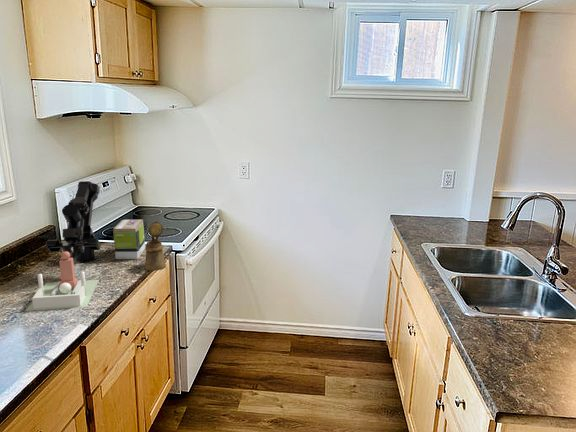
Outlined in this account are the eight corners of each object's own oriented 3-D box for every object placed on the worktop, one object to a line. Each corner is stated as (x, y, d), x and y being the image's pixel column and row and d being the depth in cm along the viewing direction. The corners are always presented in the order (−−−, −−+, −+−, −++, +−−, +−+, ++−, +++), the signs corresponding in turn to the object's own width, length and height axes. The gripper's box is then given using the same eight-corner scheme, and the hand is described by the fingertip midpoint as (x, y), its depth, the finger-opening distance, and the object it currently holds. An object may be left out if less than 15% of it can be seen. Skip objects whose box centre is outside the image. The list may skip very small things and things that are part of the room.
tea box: (124, 248, 209) (122, 218, 205) (145, 248, 210) (144, 218, 206) (114, 259, 195) (112, 227, 191) (138, 259, 196) (136, 227, 192)
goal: (41, 297, 156) (38, 273, 153) (86, 294, 159) (84, 271, 157) (32, 309, 147) (29, 284, 145) (81, 305, 150) (79, 281, 148)
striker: (62, 285, 165) (59, 250, 161) (77, 284, 166) (73, 249, 162) (60, 290, 161) (56, 254, 158) (74, 289, 162) (71, 253, 159)
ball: (67, 289, 162) (66, 279, 161) (74, 292, 160) (73, 282, 159) (57, 293, 159) (56, 283, 158) (64, 296, 157) (63, 286, 156)
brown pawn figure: (168, 259, 197) (167, 221, 192) (164, 270, 184) (162, 229, 179) (148, 259, 196) (146, 221, 191) (142, 271, 183) (140, 230, 178)
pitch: (46, 283, 168) (45, 279, 167) (99, 280, 172) (98, 276, 172) (25, 312, 146) (24, 306, 145) (86, 307, 150) (86, 302, 149)
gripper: (44, 220, 167) (38, 257, 159) (96, 218, 171) (93, 254, 163) (52, 233, 176) (46, 269, 168) (101, 232, 180) (98, 266, 173)
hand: (71, 264), depth 168 cm, fingers closed
